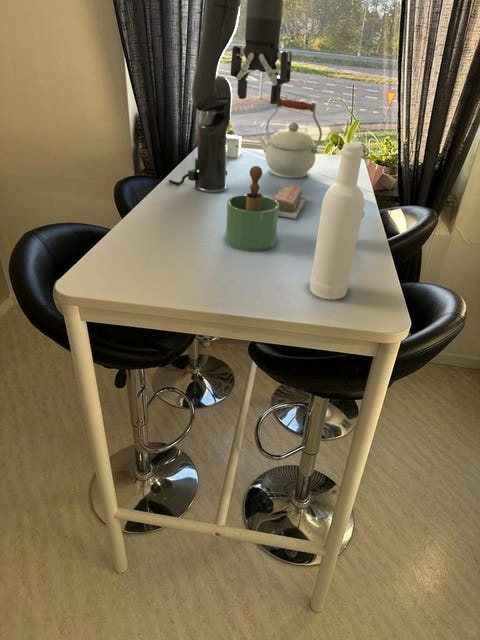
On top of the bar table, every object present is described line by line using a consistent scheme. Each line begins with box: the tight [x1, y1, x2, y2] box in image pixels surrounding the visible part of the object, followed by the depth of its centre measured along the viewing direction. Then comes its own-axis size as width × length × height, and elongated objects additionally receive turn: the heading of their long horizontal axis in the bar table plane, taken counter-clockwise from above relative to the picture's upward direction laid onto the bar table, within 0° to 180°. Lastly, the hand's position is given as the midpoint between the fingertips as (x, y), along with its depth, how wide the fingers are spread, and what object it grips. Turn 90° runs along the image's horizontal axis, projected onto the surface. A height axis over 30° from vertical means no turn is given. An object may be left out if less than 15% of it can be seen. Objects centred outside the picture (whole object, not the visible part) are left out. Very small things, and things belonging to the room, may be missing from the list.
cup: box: [225, 194, 280, 252], centre depth 115 cm, size 13×13×10 cm
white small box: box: [226, 134, 242, 158], centre depth 189 cm, size 6×6×7 cm
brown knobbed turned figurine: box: [246, 165, 263, 211], centre depth 113 cm, size 7×6×18 cm
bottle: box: [309, 142, 365, 301], centre depth 90 cm, size 8×8×30 cm
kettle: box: [258, 98, 323, 179], centre depth 167 cm, size 25×18×25 cm
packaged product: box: [271, 184, 307, 220], centre depth 139 cm, size 18×5×10 cm
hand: (257, 101), depth 105 cm, fingers open, 8 cm apart
